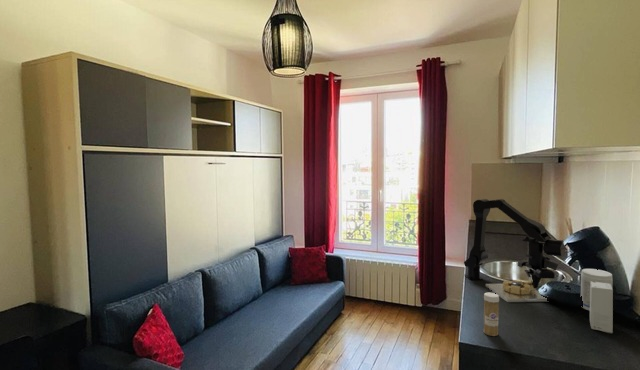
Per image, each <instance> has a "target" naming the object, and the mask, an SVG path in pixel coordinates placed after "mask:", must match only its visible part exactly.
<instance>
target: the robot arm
mask: <svg viewBox="0 0 640 370" xmlns="http://www.w3.org/2000/svg"><path fill="white" fill-rule="evenodd" d="M491 209H498V210H499V211H500V212H502V213H503V214H505V215H506V216H508V217H509V218H510V219H511V220H513V221H514V222H515V223H517V224H518V226H519V227H520V229H521V230H522V231H523V232H524V233H525V234H526V236H525V237H524V238H523V239H522V242H527V253H525V257H527V259H520V260H518V261H517V267H519V268H523V267H525V268H526V269H525V270H524V272H525V274H526V276H527V277H528V279H529V281H530V282H531V284H532V286H533V288H536V289H538V287H539V284H540V282H541V279H556V273H555V272H554V271H557V269H558V267H559V263H558V262H555V261H553V260H551V258H550V257H548V256H553V257H558V258H559V257H560V258H564V257H565V254H566V249H567V248H566V245H565V243H564V239H563V240H562V239H552V237H550V235H549V233H548V232H547V231H546V227H545V225H543V224H542V223H540V222H538V221H536V220H534V219H531V218H530V217H527V216H526V215H524V214H523V213H522V212H521V211H519V210H518V209H516V208H514V206H512V205H511V204H510V203H509V202H507V201H506V200H505V199H504V198H499V199H491V200H489V199H487V198H481V199H480V198H479V199H476V200H475V201H474V202H473V204H472V211H473V214H474V216H475V223H474V236H473V245H472V247H471V249H470V251H469V254H468V258H467V259H466V260H464V261H463V264H464V267H467V268H466V269H467V274H464V276H465V277H466V278H467V279H469V280H470V281H472V280H475V281H476V280H477V281H478V280H479V281H480V280H481V281H482V280H484V278H483V277H482V276H481V266H483V264H484V263H485V262H486V261H487V259H489V255H488V254H489V250H488V249H486V248H485V239H486V229H487V227H486V225H487V217H488V216H489V214H490V211H491ZM544 254H546V256H545V255H544ZM547 255H548V256H547Z"/></svg>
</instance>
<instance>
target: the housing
mask: <svg viewBox="0 0 640 370" xmlns="http://www.w3.org/2000/svg"><path fill="white" fill-rule="evenodd" d="M522 284H523V282H522ZM512 285H514V286H519V287H520V288H521V283H518V282H513V281H512ZM485 287H486V288H487V289H488V288H489V291H491V290H492V291H491V292H492V293H496V294H497V295H499V298H501V299H502V300H504V301H506V302H507V303H526V302H527V303H528V302H529V303H530V302H534V303H537V302H548V301H547V298H545V297H543V296H541V295H540V294H539V292H540V291H539V290H537V289H534V290H530V293H529V294H523V295H521V294H520V295H519V294H514V293H511V292H507V291H505V290H503V283H485Z"/></svg>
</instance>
